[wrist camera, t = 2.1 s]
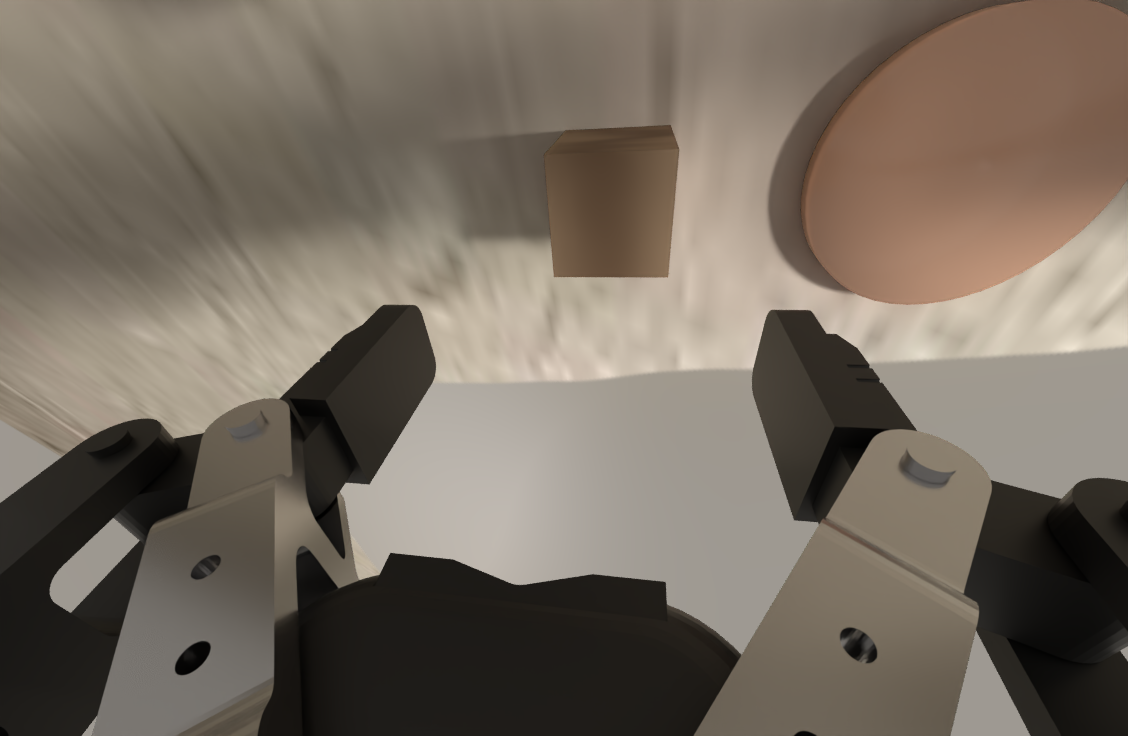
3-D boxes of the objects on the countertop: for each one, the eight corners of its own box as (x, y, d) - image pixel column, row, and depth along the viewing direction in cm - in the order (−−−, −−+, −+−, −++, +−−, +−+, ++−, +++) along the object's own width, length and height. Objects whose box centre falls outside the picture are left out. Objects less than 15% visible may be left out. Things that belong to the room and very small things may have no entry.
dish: (1213, -15, 15) (1262, -20, 14) (1021, 292, 22) (1042, 306, 21) (845, 16, 17) (860, 14, 16) (776, 290, 24) (782, 303, 23)
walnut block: (670, 124, 20) (678, 148, 15) (662, 230, 23) (668, 277, 18) (566, 130, 21) (543, 154, 16) (571, 231, 24) (553, 277, 19)
